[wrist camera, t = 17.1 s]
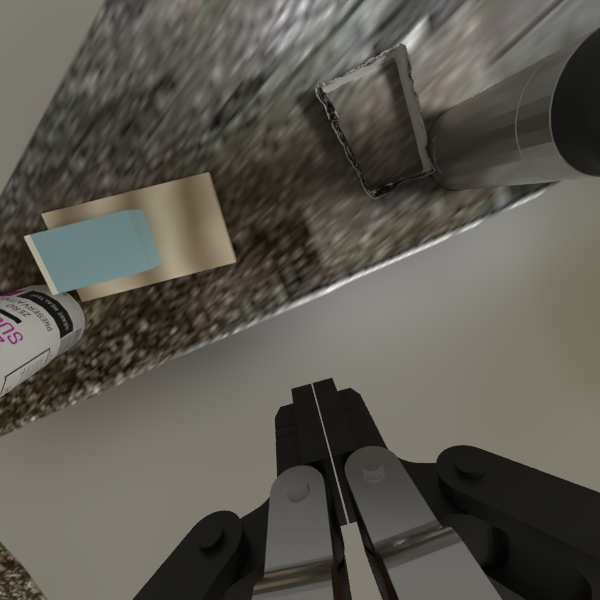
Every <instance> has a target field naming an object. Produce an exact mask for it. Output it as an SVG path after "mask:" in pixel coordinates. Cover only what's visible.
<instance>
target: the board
mask: <svg viewBox="0 0 600 600" xmlns="http://www.w3.org/2000/svg"><path fill="white" fill-rule="evenodd" d="M125 210H142V211H143V213H144V216H145V218H146V221H147V224H148V226H149V229H150V232H151V234H152V237H153V240H154V242H155V245H156V247H157V250H158V253H159V255H160V258H161V261H162V264H160V265H158V266H156V267H154V268H153V269H151V270H147V271H143V272H140V273H136V274H132V275H128V276H124V277H120V278H117V279H113V280H109V281H105V282H101V283H98V284H94V285H90V286H86V287H82V288H78V289H76V290H77V292H78V294H79V296H80V298H81V300H82V302H84V301H88V300H92V299H96V298H100V297H104V296H107V295H111V294H115V293H119V292H123V291H127V290H131V289H135V288H138V287H142V286H146V285H150V284H154V283H158V282H162V281H165V280H169V279H173V278H177V277H181V276H185V275H189V274H193V273H196V272H200V271H204V270H208V269H212V268H216V267H220V266H223V265H227V264H231V263H235V262H236V261H237V260H236V256H235V253H234V250H233V246H232V243H231V240H230V237H229V233H228V230H227V227H226V223H225V220H224V217H223V214H222V210H221V207H220V204H219V200H218V197H217V194H216V191H215V187H214V184H213V181H212V178H211V174H210V173H208V172H207V173H203V174H199V175H195V176H191V177H187V178H183V179H179V180H175V181H171V182H167V183H163V184H159V185H155V186H151V187H147V188H143V189H139V190H135V191H131V192H127V193H123V194H119V195H115V196H111V197H107V198H103V199H99V200H95V201H91V202H87V203H83V204H79V205H75V206H71V207H67V208H63V209H59V210H55V211H51V212H47V213H43V214H41V215H42V217H43V219H44V221H45V224H46V226H47V228H48V230H50V229H54V228H58V227H62V226H66V225H70V224H74V223H78V222H82V221H86V220H90V219H93V218H97V217H101V216H105V215H109V214H113V213H117V212H121V211H125Z"/></svg>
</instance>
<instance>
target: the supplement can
mask: <svg viewBox="0 0 600 600" xmlns="http://www.w3.org/2000/svg"><path fill="white" fill-rule="evenodd" d="M84 329H85V316H84V314H83V312H82V309H81V307H80V305H79V304H78V303H77V302H76V301H75V300H74V299H73V297H72V296H71V295H69V294H67V293H66V292H63V293H59V294H55V295H52V293H51V291H50V289H49V287H48V285H32V286H29V287H26V288H23V289H19V290H16V291H13V292H10V293H7V294H4V295H1V296H0V397H2V396H3V395H5V394H6V393H7V392H9V391H10V390H12V389H13V388H14V387H16V386H17V385H19V384H20V383H21V382H23V381H24V380H26V379H27V378H29V377H30V376H31V375H33V374H34V373H36V372H37V371H38V370H40V369H41V368H43V367H44V366H45V365H47V364H48V363H50V362H51V361H52V360H54V359H55V358H57V357H58V356H60V355H61V354H62V353H64V352H65V351H67V350H68V349H69V348H71V347H72V346H74V345H75V344H76V343H77V342H78V341H79V340H80V339H81V337H82V334H83V332H84Z"/></svg>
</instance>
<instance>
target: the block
mask: <svg viewBox="0 0 600 600" xmlns="http://www.w3.org/2000/svg"><path fill="white" fill-rule="evenodd" d="M24 238H25V240H26V242H27V244H28V246H29V248H30V250H31V252H32V254H33V256H34V258H35V260H36V262H37V264H38V266H39V268H40V270H41V272H42V274H43V276H44V278H45V280H46V282H47V284H48V287H49V289H50V291H51V293H52V295H55V294H59V293H63V292H67V291H71V290H75V289H78V288H82V287H86V286H90V285H94V284H98V283H101V282H105V281H109V280H113V279H117V278H120V277H124V276H128V275H132V274H136V273H140V272H143V271H147V270H151V269H153V268H154V267H156V266H158V265H160V264H162V261H161V258H160V255H159V253H158V250H157V247H156V245H155V242H154V240H153V237H152V234H151V232H150V229H149V226H148V224H147V221H146V218H145V216H144V213H143V211H142V210H125V211H121V212H117V213H113V214H109V215H105V216H101V217H97V218H93V219H90V220H86V221H82V222H78V223H74V224H70V225H66V226H62V227H58V228H54V229H50V230H47V231H43V232H39V233H35V234H31V235H27V236H24Z"/></svg>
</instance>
